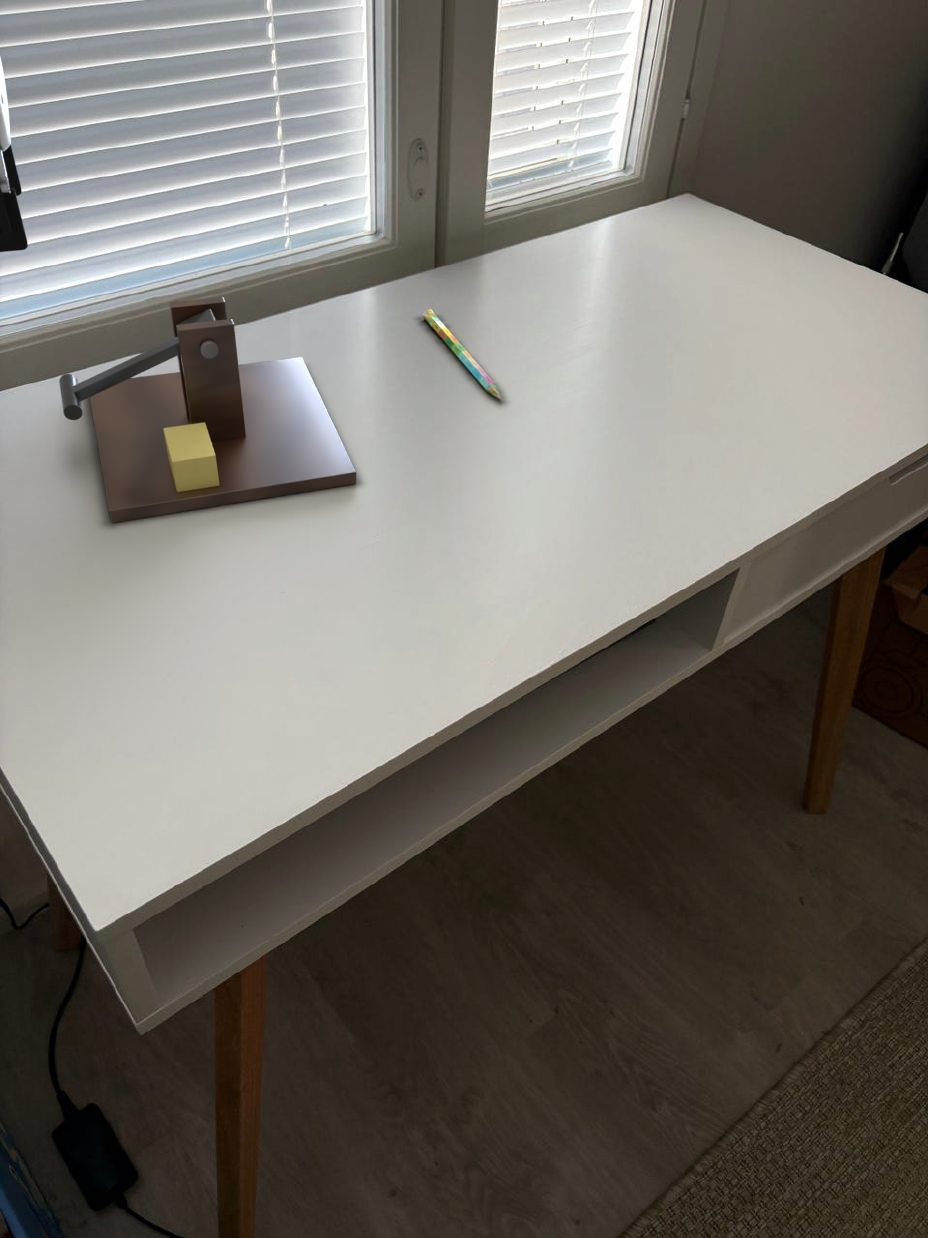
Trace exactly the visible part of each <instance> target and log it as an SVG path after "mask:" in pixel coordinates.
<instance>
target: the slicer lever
mask: <svg viewBox="0 0 928 1238" xmlns="http://www.w3.org/2000/svg"><path fill="white" fill-rule="evenodd" d="M208 321H217V319H216V318H215V316H214V314H213V312H212V310H211V309H208V310H206V311H204V312H201V313H199V314H197V315H195V316H193V317H191V318H189V319H187V320H185V321H182V322H180V325H181V324H190V323H199V322H208ZM178 355H180V348H179V341H178V337H175V338H174V337H173V338H171V339H169V340H167V341H165V342H163V343H161V344H159V345H157V346H154V347H152V348H151V349H148V350H146V351H144V352H142V353H140V354H138V355H136V356H133V357H131V358H129V359H127V360H125V361H123V362H120V363H119V364H117V365H115V366H113V367H111V368H108V369H106V370H104V371H101V372H100V373H98V374H96V375H93V376H91V377H89V378H87V379H84V380H83V381H81V382H79V381H78V378H77V377H76V376H75V375H74V374H71V373H65V374H62V375H61V376H60V377H59V381H58V382H59V389H60V396H61V397H60V398H61V405H62V411H63V416H64V417H65V418H66V419H67V420H70V421H78V420H79V419H80V418H82V416H83V415H84V413H83V412H84V411H83V405H82V402H83V401H86V400H88V399H90V397H91V396H94V395H96V394H98V393H100V392H102V391H104V390H106V389H108V388H110V387H113V386H115V385H117V384H119V383H121V382H123V381H125V380H127V379H129V378H135V377H137V376H138V375H140V374H143V373H145V372H146V371H148V370H150V369H153V368H155V367H156V366H159V365H160V364H163V363H165V362H167V361H169V360H171V359H173V358H175V357H176V358H177V356H178Z"/></svg>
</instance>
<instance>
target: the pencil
mask: <svg viewBox="0 0 928 1238" xmlns="http://www.w3.org/2000/svg"><path fill="white" fill-rule="evenodd" d="M422 317H423V319H424V321H426V322H427V323H428V325H429V326H430V327H431V328H432V330H433V331H435V333H436V334H437V335H438V336H439V337H440V338H441V340H442V341H443V342H444V343H445V344H446V346H447V347H448V348H449V349H450V350H451V351H452V353H453V354H454V355H455V356H456V358H457V359H458V360H459V361H460V362H461V363H462V364H463V366H464V367H465V368H466V369H467V370H468V371H469V373H470V374H471V375H472V376H473V377H474V378H475V379H476V381H477V382H479V384H480V385H481V386H482V388H483V389H484V390H485V391H486V392H487V393H488V394H489V395H491V396H493V397H494V398H497V399H499V400H502V397H501V394H500V391H499V389H498V387H497V385H496V383H495V382H494V381H493V380H492V378H491V377H490V376H489V375H488V374H487V372H486V371H485V370H484V369H483V368H482V367H481V366H480V365H479V364H478V362H477V361H476V360H475V359H474V358H473V356H472V355H471V354H470V353H469V352H468V351H467V350H466V348H465V347H464V346H463V345H462V344H461V343H460V342H459V341H458V339H457V338H456V337H455V336H454V335H453V334H452V332H451V331H450V330H449V329H448V328H447V327H446V326H445V324H444V323H443V322H442V321H441V320H440V318H439V317H438V316H437V315H436V314H435V313H434V312H433V310H432V309H426V310H424V312H423V314H422Z"/></svg>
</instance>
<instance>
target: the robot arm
mask: <svg viewBox="0 0 928 1238" xmlns="http://www.w3.org/2000/svg"><path fill="white" fill-rule="evenodd" d="M3 68H4V67H3V63H2V58H1V56H0V253H7V252H18V251H25V250H27V248H28V247H29V246H28V238H27V235H26V229H25V226H24V222H23V217H22V214H21V210H20V206H19V201H18V196H20V195H21V194H22V185H21V180H20V176H19V172H18V168H17V165H16V161H15V160H16V159H15V156H14V152H13V148H12V137H11V124H10V123H11V122H10V111H9V109H10V108H9V101H8V93H7V86H6V79H5V73H4V69H3Z"/></svg>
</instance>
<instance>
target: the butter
mask: <svg viewBox="0 0 928 1238" xmlns="http://www.w3.org/2000/svg"><path fill="white" fill-rule="evenodd" d="M163 430H164V436H165V442H166V447H167V453H168V459H169V463H170V466H171V470H172V474H173V478H174V482H175V486H176V490H177V492H183V491H189V490H195V489H202V488H208V487H215V486H219V478H218V471H217V464H216V456H215V453H214V449H213V446H212V443H211V440H210V437H209V433H208V430H207V427H206V424H205V423H197V424H190V425H182V426H175V427H168V428H163Z"/></svg>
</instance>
